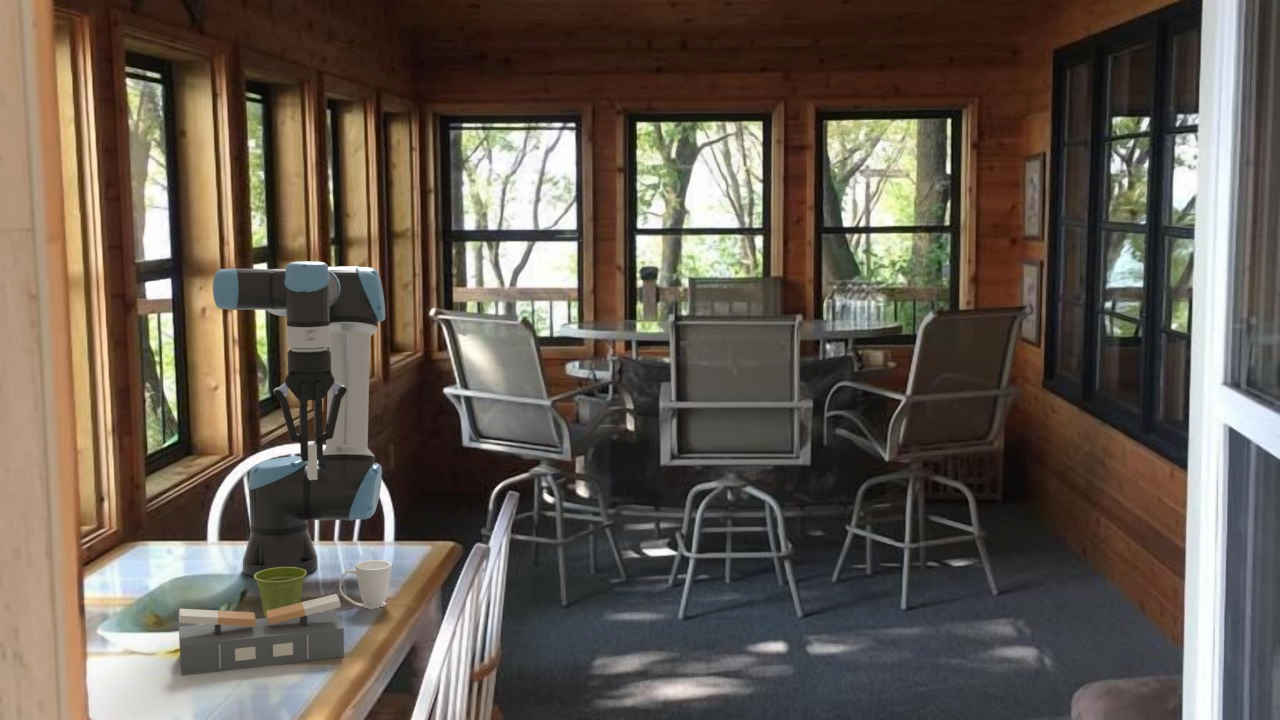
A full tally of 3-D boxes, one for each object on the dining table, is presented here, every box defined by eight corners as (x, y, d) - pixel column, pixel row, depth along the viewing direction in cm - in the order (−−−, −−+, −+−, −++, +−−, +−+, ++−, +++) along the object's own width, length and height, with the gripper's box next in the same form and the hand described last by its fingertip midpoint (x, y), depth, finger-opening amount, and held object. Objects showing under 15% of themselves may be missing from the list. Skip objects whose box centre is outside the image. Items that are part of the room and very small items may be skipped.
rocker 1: (178, 615, 214) (179, 608, 214) (252, 619, 218) (253, 612, 218) (179, 622, 210) (180, 615, 210) (254, 626, 214) (255, 619, 214)
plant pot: (260, 630, 231) (259, 583, 230) (250, 615, 239) (249, 570, 238) (313, 623, 235) (312, 577, 234) (301, 608, 243) (300, 564, 242)
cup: (392, 610, 243) (391, 569, 242) (338, 612, 241) (337, 570, 240) (393, 599, 250) (393, 559, 249) (341, 601, 248) (340, 560, 247)
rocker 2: (267, 617, 219) (265, 610, 219) (337, 600, 223) (336, 593, 223) (269, 624, 215) (268, 618, 215) (340, 606, 219) (339, 600, 219)
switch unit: (179, 655, 217) (178, 617, 217) (336, 638, 227) (335, 602, 226) (181, 676, 208) (180, 636, 207) (344, 657, 217) (343, 619, 216)
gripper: (272, 353, 223) (276, 485, 226) (349, 350, 227) (351, 480, 231) (269, 347, 230) (273, 476, 233) (343, 344, 234) (346, 471, 238)
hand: (312, 478), depth 232 cm, fingers closed
